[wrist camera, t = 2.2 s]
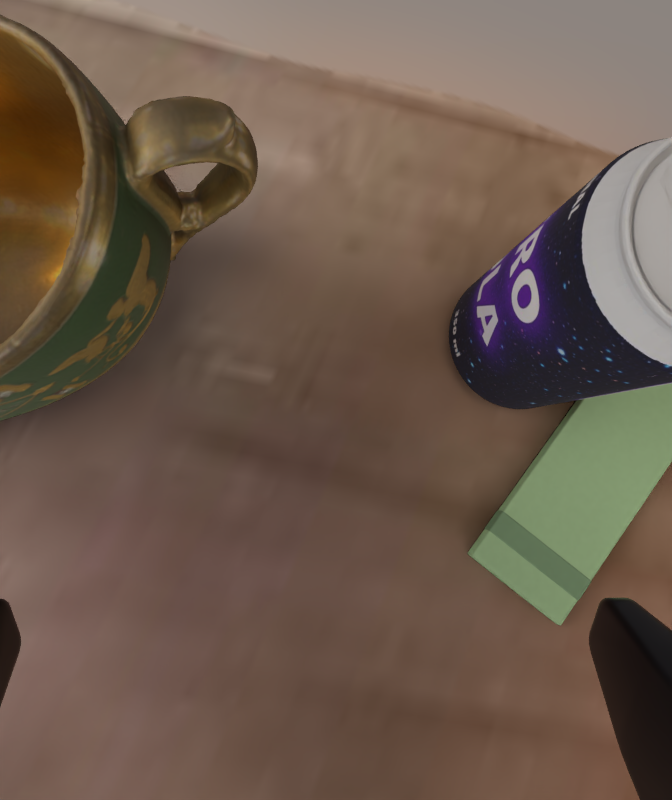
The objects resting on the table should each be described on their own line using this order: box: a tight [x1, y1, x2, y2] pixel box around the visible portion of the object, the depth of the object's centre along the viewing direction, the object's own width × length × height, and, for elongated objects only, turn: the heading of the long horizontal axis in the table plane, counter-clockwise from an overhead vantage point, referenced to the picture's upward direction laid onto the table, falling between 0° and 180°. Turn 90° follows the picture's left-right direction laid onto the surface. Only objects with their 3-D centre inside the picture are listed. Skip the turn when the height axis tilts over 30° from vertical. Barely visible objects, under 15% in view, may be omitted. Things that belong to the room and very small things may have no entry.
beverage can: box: [449, 136, 672, 409], centre depth 18 cm, size 6×6×12 cm
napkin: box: [468, 383, 672, 625], centre depth 23 cm, size 4×13×1 cm, turn 142°
